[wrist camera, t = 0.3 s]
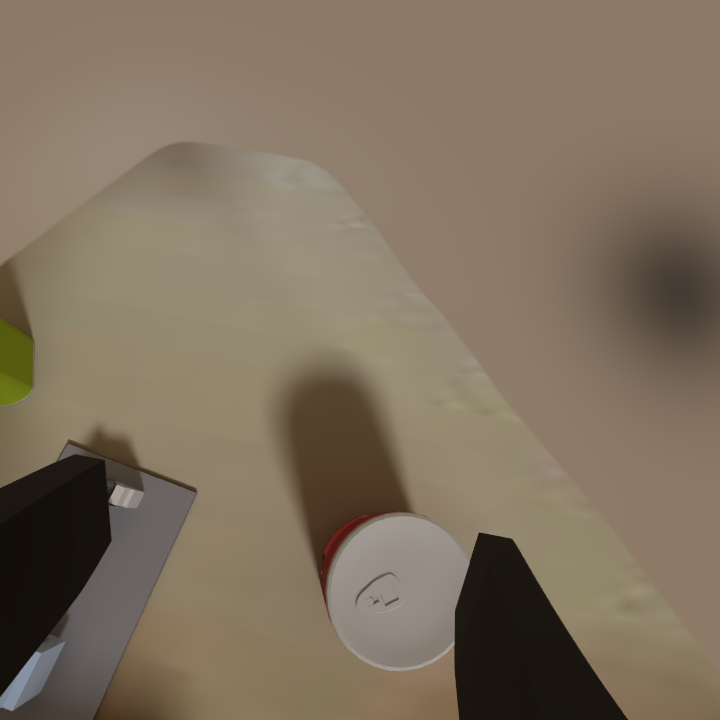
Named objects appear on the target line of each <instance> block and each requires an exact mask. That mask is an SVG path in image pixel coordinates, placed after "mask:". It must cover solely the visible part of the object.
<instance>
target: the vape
mask: <svg viewBox="0 0 720 720" xmlns="http://www.w3.org/2000/svg"><path fill="white" fill-rule="evenodd" d="M33 388H34V341H33V340H32V338H31V337H29V336H28V335H26V334H25V333H23V332H22V331H20V330H19V329H17V328H16V327H14V326H13V325H11V324H10V323H8V322H7V321H5V320H4V319H2V318H1V317H0V406H9V405H13V404H16V403H19V402H21V401H23V400H24V399H26V398H27V397H28V396H29V395H30V394H31V392H32V391H33Z"/></svg>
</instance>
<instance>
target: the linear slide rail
mask: <svg viewBox="0 0 720 720" xmlns="http://www.w3.org/2000/svg"><path fill="white" fill-rule="evenodd" d="M74 454H77V455H82V456H88V457H93V458H98V459H103V460H105V466H106V478H107V490H108V502H109V514H110V526H111V538H112V541H111V543H110V545H109V547H108V548H107V550H106V552H105V554H104V555H103V557H102V559H101V560H100V562H99V564H98V566H97V567H96V569H95V571H94V572H93V574H92V576H91V577H90V579H89V580H88V582H87V584H86V585H85V587H84V588H83V590H82V592H81V593H80V594H79V596H78V597H77V598H76V600H75V601H74V602H73V604H72V605H71V606H70V608H69V609H68V610H67V611H66V613H65V614H64V615H63V617H62V618H61V619H60V621H59V622H58V623H57V625H56V626H55V627H54V629H53V630H52V631H51V632H50V635H53V636H55V637H58V638H61V639H63V640H66V642H65V644H64V646H63V648H62V650H61V652H60V654H59V656H58V658H57V660H56V662H55V664H54V666H53V668H52V670H51V672H50V674H49V676H48V678H47V680H46V682H45V684H44V686H43V688H42V690H41V692H40V693H39V694H37V695H36V696H34V697H33V698H31V699H30V700H28V701H27V702H25V703H24V704H22V705H21V706H19V707H18V708H16V709H15V710H13V711H10V710H8V709H5V708H3V707H2V708H0V720H94V718H95V715H96V713H97V711H98V709H99V707H100V705H101V702H102V700H103V698H104V696H105V694H106V691H107V689H108V687H109V685H110V683H111V680H112V678H113V676H114V674H115V672H116V669H117V667H118V665H119V663H120V661H121V659H122V656H123V654H124V652H125V650H126V648H127V645H128V643H129V641H130V639H131V637H132V634H133V632H134V630H135V628H136V626H137V624H138V621H139V619H140V617H141V615H142V613H143V610H144V608H145V606H146V604H147V602H148V599H149V597H150V595H151V593H152V591H153V589H154V586H155V584H156V582H157V580H158V578H159V575H160V573H161V571H162V569H163V567H164V564H165V562H166V560H167V558H168V556H169V553H170V551H171V549H172V547H173V545H174V543H175V540H176V538H177V536H178V534H179V532H180V529H181V527H182V525H183V523H184V521H185V518H186V516H187V514H188V512H189V510H190V508H191V505H192V503H193V501H194V499H195V497H196V494H197V493H196V492H193V491H191V490H188V489H185V488H183V487H180V486H178V485H175V484H172V483H170V482H167V481H164V480H162V479H159V478H157V477H154V476H151V475H149V474H146V473H144V472H141V471H138V470H136V469H133V468H131V467H128V466H125V465H123V464H120V463H118V462H115V461H112V460H110V459H107V458H105V457H102V456H99V455H97V454H94V453H92V452H89V451H86V450H84V449H81V448H79V447H76V446H73V445H71V444H67V446H66V448H65V449H64V451H63V453H62V455H61V457H60V458H59V460H62V459H64V458H67V457H69V456H71V455H74ZM59 460H58V461H59Z"/></svg>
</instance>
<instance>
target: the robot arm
mask: <svg viewBox="0 0 720 720" xmlns="http://www.w3.org/2000/svg"><path fill="white" fill-rule="evenodd" d="M111 541H112V538H111V526H110V514H109V502H108V490H107V478H106V466H105V460H103V459H98V458H93V457H88V456H82V455H77V454H74V455H71V456H69V457H67V458H64V459H62V460H59V461H57V462H55V463H53V464H51V465H48V466H46V467H44V468H42V469H40V470H38V471H36V472H33V473H31V474H29V475H27V476H25V477H23V478H21V479H19V480H17V481H14V482H12V483H10V484H8V485H6V486H4V487H2V488H0V697H1V696H2V694H3V693H4V692H5V691H6V689H7V688H8V687H9V685H10V684H11V683H12V682H13V680H14V679H15V678H16V676H17V675H18V674H19V672H20V671H21V670H22V669H23V667H24V666H25V665H26V663H27V662H28V661H29V660H30V658H31V657H32V656H33V654H34V653H35V652H36V651H37V649H38V648H39V647H40V645H41V644H42V643H43V641H44V640H45V639H46V638H47V636H48V635H49V634H50V632H51V631H52V630H53V629H54V627H55V626H56V625H57V623H58V622H59V621H60V619H61V618H62V617H63V615H64V614H65V613H66V611H67V610H68V609H69V608H70V606H71V605H72V604H73V602H74V601H75V600H76V598H77V597H78V596H79V594H80V593H81V592H82V590H83V588H84V587H85V585H86V584H87V582H88V580H89V579H90V577H91V576H92V574H93V572H94V571H95V569H96V567H97V566H98V564H99V562H100V560H101V559H102V557H103V555H104V554H105V552H106V550H107V548H108V547H109V545H110V543H111ZM454 648H455V679H456V690H457V700H458V710H459V720H628V719H627V718H626V716H625V715H624V713H623V712H622V711H621V709H620V708H619V706H618V705H617V704H616V702H615V701H614V699H613V698H612V696H611V695H610V694H609V692H608V691H607V689H606V688H605V687H604V685H603V684H602V682H601V681H600V679H599V678H598V676H597V675H596V673H595V672H594V670H593V669H592V667H591V666H590V664H589V663H588V662H587V660H586V658H585V657H584V655H583V654H582V652H581V651H580V649H579V648H578V646H577V644H576V643H575V641H574V640H573V638H572V637H571V635H570V634H569V632H568V631H567V629H566V627H565V626H564V624H563V623H562V621H561V619H560V618H559V616H558V615H557V613H556V611H555V610H554V608H553V607H552V605H551V603H550V602H549V600H548V598H547V597H546V595H545V593H544V592H543V590H542V588H541V587H540V585H539V583H538V581H537V580H536V578H535V576H534V575H533V573H532V571H531V569H530V568H529V566H528V564H527V563H526V561H525V559H524V557H523V556H522V554H521V552H520V551H519V549H518V547H517V545H516V544H515V542H514V541H513V539H510V538H505V537H500V536H495V535H490V534H484V533H479V534H478V537H477V540H476V544H475V547H474V550H473V553H472V557H471V560H470V563H469V566H468V570H467V573H466V576H465V579H464V583H463V586H462V589H461V592H460V596H459V599H458V602H457V605H456V609H455V641H454Z"/></svg>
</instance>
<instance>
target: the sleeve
mask: <svg viewBox="0 0 720 720" xmlns="http://www.w3.org/2000/svg"><path fill="white" fill-rule="evenodd" d="M65 642H66V640H63V639H61V638H58V637H55V636H53V635H50V634H49V635H48V636H47V638H46V639H45V640H44V641H43V643H42V644H41V645H40V647H39V648H38V649H37V651H36V652H35V653H34V654H33V656H32V657H31V658H30V660H29V661H28V662H27V663H26V665H25V666H24V667H23V669H22V670H21V671H20V672H19V674H18V675H17V676H16V678H15V679H14V680H13V682H12V683H11V684H10V685H9V687H8V688H7V689H6V691H5V692H4V693H3V694H2V696H1V697H0V708H2V707H3V708H5V709H8V710H10V711H13V710H15V709H16V708H18V707H19V706H21V705H22V704H24V703H25V702H27V701H28V700H30V699H31V698H33V697H34V696H36V695H37V694H39V693H40V692H41V690H42V688H43V686H44V684H45V682H46V680H47V678H48V676H49V674H50V672H51V670H52V668H53V666H54V664H55V662H56V660H57V658H58V656H59V654H60V652H61V650H62V648H63V646H64V644H65Z"/></svg>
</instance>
